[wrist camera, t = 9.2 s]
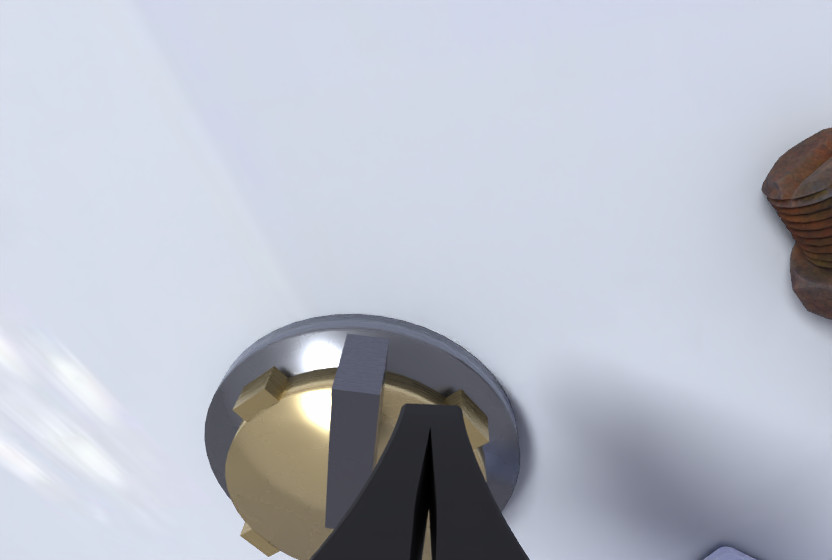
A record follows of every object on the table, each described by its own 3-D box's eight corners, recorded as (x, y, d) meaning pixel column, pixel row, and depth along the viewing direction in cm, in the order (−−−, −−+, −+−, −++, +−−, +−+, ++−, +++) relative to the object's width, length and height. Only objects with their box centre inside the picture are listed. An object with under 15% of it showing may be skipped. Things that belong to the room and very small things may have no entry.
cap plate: (581, 407, 25) (586, 427, 24) (419, 574, 31) (417, 595, 30) (288, 255, 22) (280, 270, 21) (173, 471, 29) (163, 491, 28)
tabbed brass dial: (349, 587, 30) (334, 680, 26) (162, 442, 26) (111, 528, 22) (557, 490, 26) (575, 584, 22) (374, 297, 21) (357, 372, 17)
